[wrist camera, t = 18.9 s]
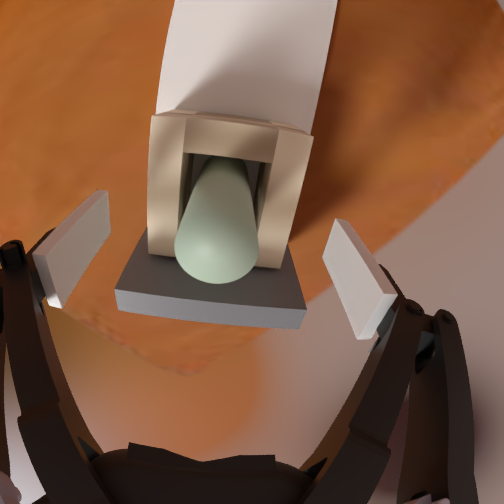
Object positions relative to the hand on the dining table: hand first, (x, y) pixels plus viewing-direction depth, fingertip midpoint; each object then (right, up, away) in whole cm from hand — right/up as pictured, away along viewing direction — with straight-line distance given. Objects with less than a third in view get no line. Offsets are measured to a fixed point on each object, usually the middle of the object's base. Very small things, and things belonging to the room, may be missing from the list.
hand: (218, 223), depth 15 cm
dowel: (-1, +5, +8) cm, 9 cm away
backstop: (0, +10, +6) cm, 12 cm away
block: (-1, +6, +8) cm, 10 cm away
